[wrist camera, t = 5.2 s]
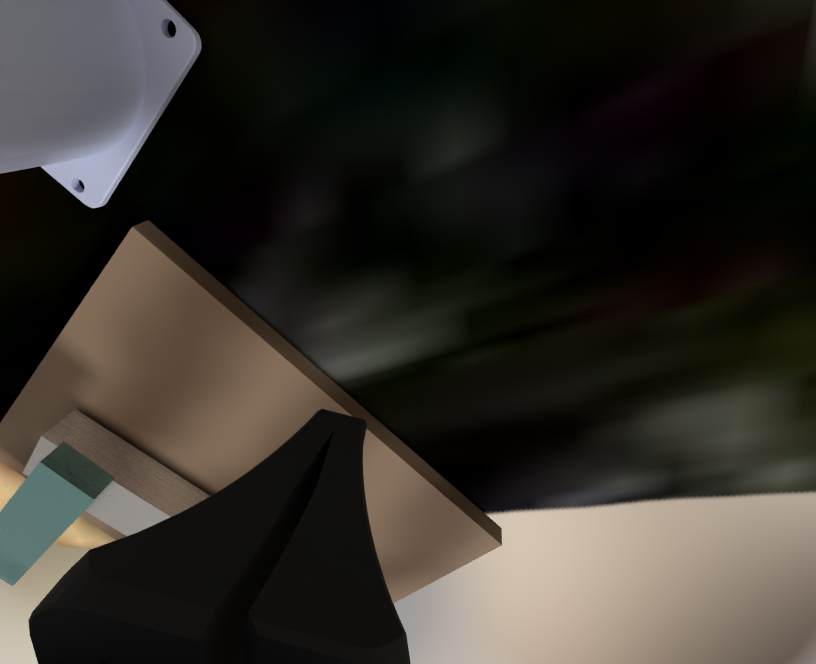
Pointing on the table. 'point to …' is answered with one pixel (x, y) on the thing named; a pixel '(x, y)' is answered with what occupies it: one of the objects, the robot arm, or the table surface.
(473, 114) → the table surface
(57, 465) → the block
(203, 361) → the board
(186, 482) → the latch bar
